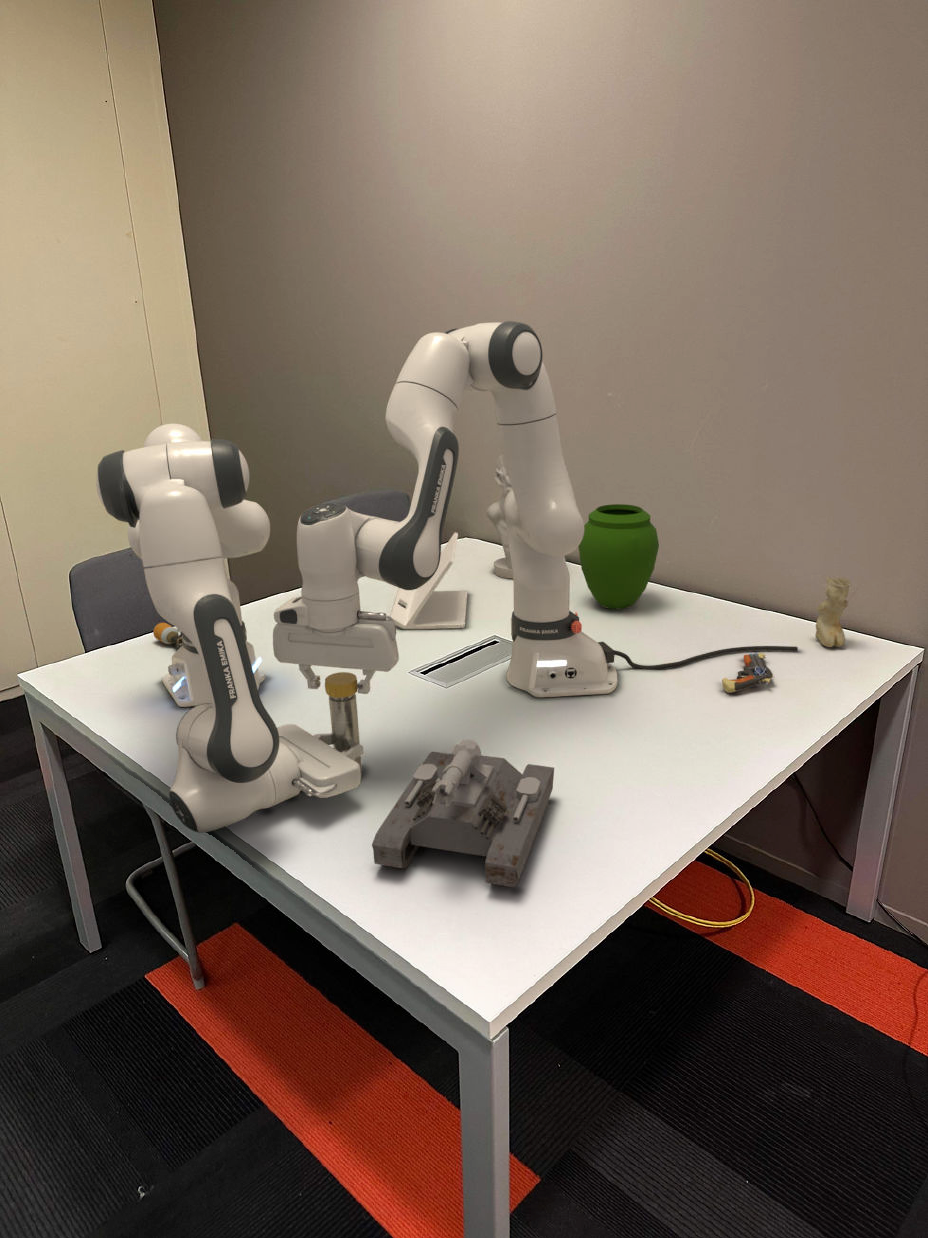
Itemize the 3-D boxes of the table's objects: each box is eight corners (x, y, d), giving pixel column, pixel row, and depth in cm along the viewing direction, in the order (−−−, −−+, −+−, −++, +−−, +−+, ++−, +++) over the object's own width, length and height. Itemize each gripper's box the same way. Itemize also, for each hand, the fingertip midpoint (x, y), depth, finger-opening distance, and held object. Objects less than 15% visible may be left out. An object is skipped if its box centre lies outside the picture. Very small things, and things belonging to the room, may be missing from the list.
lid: (359, 683, 139) (358, 671, 139) (356, 697, 135) (355, 684, 134) (328, 684, 139) (326, 672, 139) (323, 698, 134) (322, 685, 134)
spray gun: (191, 623, 212) (240, 633, 206) (141, 643, 198) (191, 654, 192) (190, 607, 211) (239, 616, 205) (139, 626, 196) (190, 637, 190)
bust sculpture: (503, 593, 225) (502, 460, 212) (483, 567, 247) (480, 445, 234) (562, 587, 228) (563, 456, 215) (536, 562, 250) (536, 441, 237)
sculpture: (821, 649, 184) (830, 583, 179) (808, 637, 191) (816, 573, 185) (848, 649, 184) (858, 582, 179) (834, 636, 191) (843, 572, 185)
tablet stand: (467, 593, 225) (465, 531, 219) (465, 628, 202) (462, 559, 196) (399, 594, 226) (395, 532, 220) (388, 629, 203) (384, 560, 197)
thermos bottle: (366, 773, 142) (359, 686, 136) (343, 781, 139) (335, 693, 134) (354, 762, 145) (347, 677, 139) (331, 770, 143) (323, 684, 137)
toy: (433, 778, 139) (429, 695, 134) (554, 794, 134) (555, 708, 128) (373, 873, 117) (366, 778, 111) (516, 898, 111) (515, 799, 106)
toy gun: (724, 683, 164) (779, 680, 162) (715, 651, 182) (764, 648, 180) (725, 696, 165) (779, 693, 163) (715, 663, 183) (764, 660, 180)
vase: (599, 587, 227) (601, 497, 218) (668, 600, 216) (673, 505, 208) (562, 608, 212) (564, 513, 204) (634, 623, 202) (639, 523, 193)
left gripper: (311, 780, 124) (387, 747, 132) (243, 732, 138) (315, 705, 147) (315, 817, 126) (390, 782, 135) (247, 767, 140) (318, 738, 149)
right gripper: (401, 606, 133) (406, 687, 138) (282, 598, 138) (291, 676, 143) (387, 621, 127) (393, 704, 132) (263, 612, 132) (273, 692, 137)
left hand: (350, 742), depth 141 cm, fingers closed on thermos bottle, 4 cm apart
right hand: (339, 690), depth 138 cm, fingers open, 7 cm apart
